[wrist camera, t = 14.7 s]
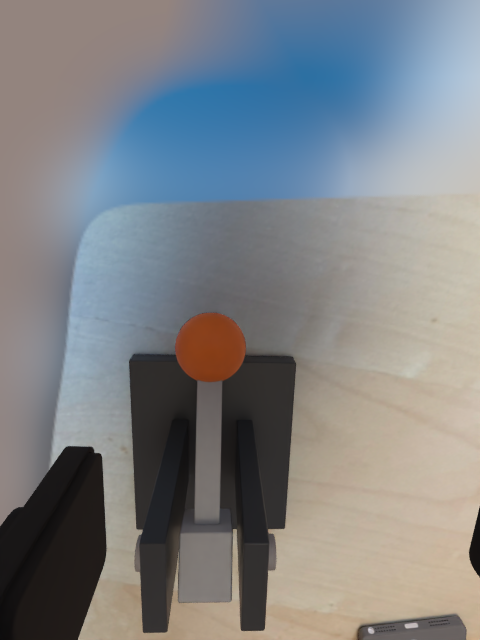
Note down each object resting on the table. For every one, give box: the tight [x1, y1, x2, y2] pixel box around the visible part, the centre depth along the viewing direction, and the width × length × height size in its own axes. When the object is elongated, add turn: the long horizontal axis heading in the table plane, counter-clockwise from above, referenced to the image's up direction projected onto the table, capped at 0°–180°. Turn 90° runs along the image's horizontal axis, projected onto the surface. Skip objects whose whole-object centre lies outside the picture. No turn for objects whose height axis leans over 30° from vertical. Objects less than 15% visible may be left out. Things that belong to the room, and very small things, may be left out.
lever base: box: [129, 354, 296, 633], centre depth 21 cm, size 12×10×11 cm
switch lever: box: [175, 312, 246, 603], centre depth 17 cm, size 12×3×3 cm, turn 178°
